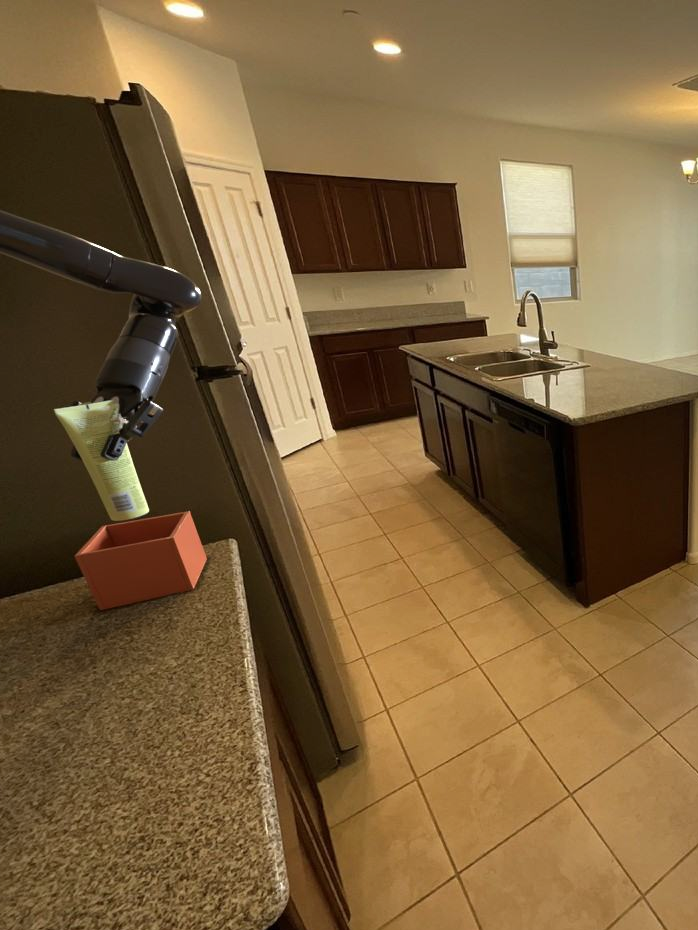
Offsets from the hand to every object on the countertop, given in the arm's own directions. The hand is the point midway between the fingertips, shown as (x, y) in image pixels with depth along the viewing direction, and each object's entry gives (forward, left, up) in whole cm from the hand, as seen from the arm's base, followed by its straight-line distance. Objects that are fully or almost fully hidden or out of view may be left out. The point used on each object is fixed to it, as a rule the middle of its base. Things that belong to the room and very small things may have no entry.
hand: (94, 458), depth 84 cm
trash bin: (0, +2, -25) cm, 25 cm away
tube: (+1, +2, -11) cm, 11 cm away
